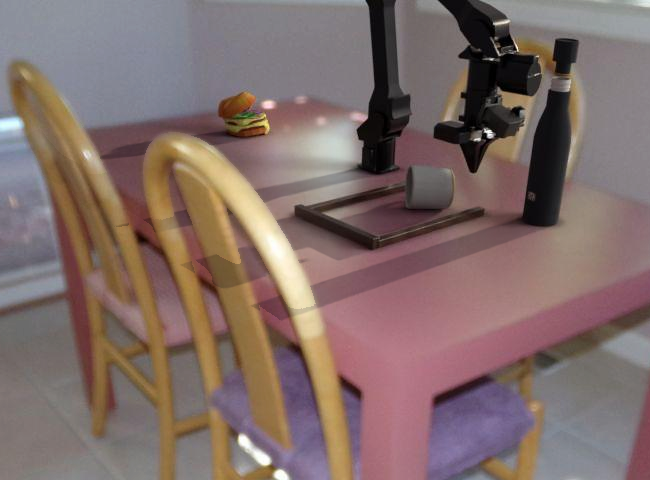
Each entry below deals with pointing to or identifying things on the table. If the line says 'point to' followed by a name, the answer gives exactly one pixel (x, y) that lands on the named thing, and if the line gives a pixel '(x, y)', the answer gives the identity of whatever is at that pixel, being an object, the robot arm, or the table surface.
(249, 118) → the cheeseburger
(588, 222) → the table surface
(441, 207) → the ceramic mug
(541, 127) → the black bottle
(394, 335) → the table surface
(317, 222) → the brown wooden flat frame
